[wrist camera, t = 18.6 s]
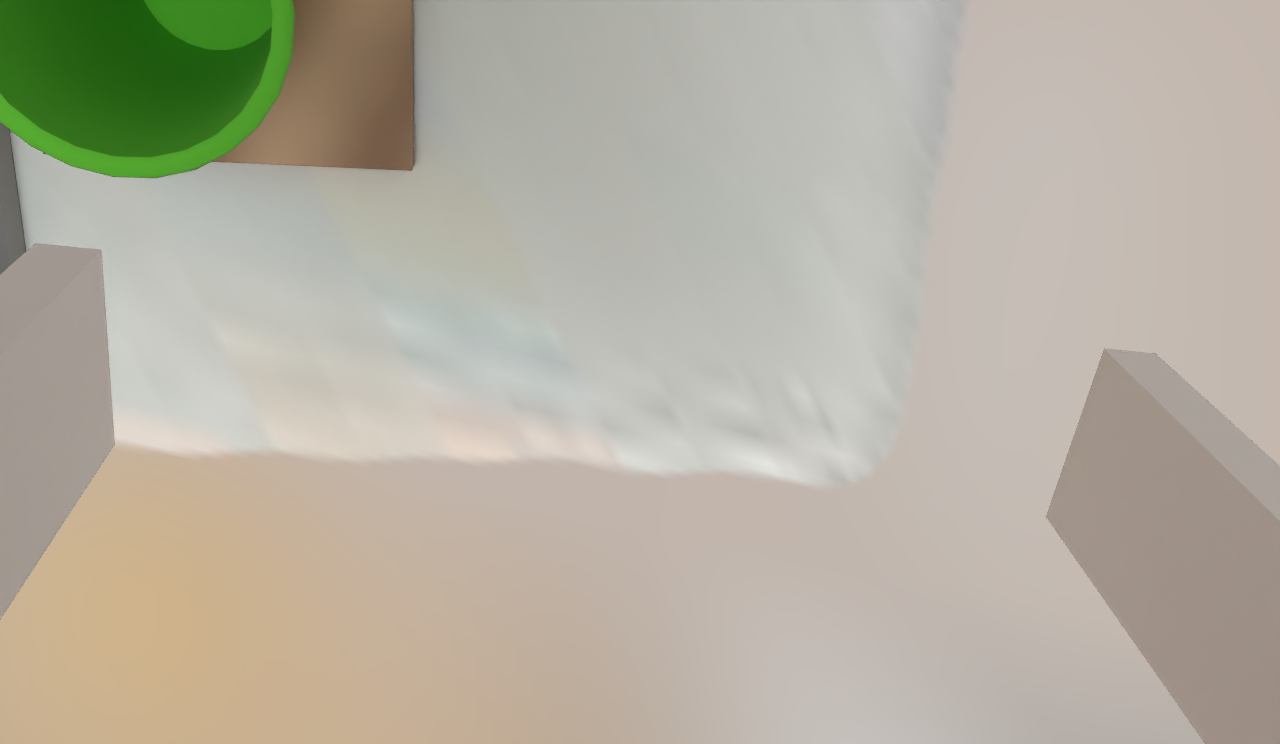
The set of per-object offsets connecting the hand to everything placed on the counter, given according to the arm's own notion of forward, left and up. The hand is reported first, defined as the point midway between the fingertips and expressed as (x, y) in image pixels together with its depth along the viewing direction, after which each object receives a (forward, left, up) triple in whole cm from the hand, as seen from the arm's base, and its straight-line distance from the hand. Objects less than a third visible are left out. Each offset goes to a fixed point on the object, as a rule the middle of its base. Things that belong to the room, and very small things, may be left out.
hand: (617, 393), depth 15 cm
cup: (-10, -6, -29) cm, 32 cm away
